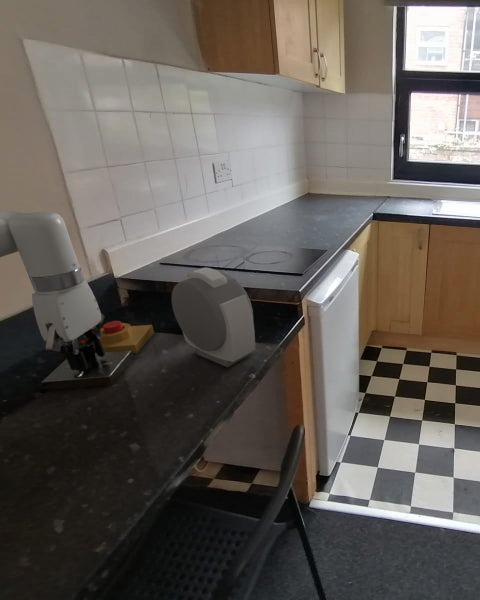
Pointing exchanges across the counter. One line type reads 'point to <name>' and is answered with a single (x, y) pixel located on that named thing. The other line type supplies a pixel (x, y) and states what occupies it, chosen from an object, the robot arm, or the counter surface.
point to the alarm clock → (215, 315)
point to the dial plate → (89, 372)
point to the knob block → (126, 338)
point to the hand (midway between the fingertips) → (88, 361)
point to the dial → (89, 352)
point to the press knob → (113, 327)
